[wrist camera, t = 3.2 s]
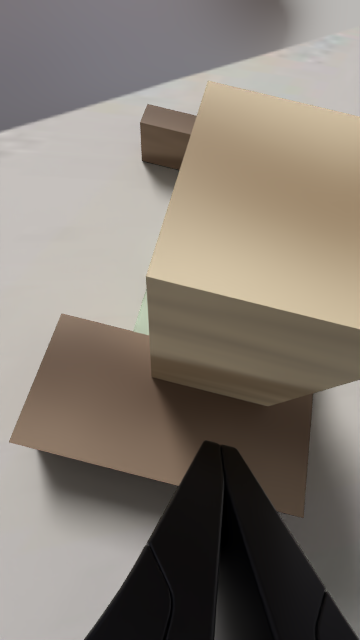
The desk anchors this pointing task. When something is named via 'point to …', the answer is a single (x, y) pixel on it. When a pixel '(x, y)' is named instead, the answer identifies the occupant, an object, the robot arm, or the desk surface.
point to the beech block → (260, 252)
